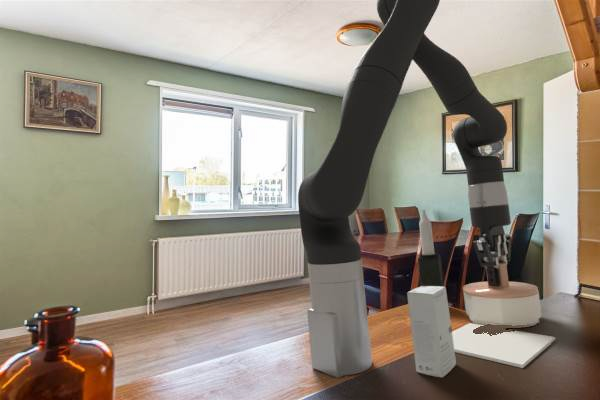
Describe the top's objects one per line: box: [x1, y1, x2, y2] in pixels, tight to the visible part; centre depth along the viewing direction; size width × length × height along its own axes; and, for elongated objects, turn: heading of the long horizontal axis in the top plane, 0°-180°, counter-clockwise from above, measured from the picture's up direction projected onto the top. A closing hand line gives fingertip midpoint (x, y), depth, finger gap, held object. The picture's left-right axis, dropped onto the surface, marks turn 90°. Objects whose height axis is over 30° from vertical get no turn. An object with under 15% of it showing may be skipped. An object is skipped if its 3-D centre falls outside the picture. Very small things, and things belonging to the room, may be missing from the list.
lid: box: [462, 263, 539, 298], centre depth 75 cm, size 14×14×6 cm
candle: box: [417, 208, 445, 287], centre depth 90 cm, size 5×5×25 cm
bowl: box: [462, 290, 543, 326], centre depth 75 cm, size 13×13×6 cm
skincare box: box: [406, 286, 457, 378], centre depth 55 cm, size 6×4×12 cm
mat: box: [452, 322, 556, 369], centre depth 62 cm, size 15×15×1 cm
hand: (498, 284), depth 75 cm, fingers closed on lid, 3 cm apart
